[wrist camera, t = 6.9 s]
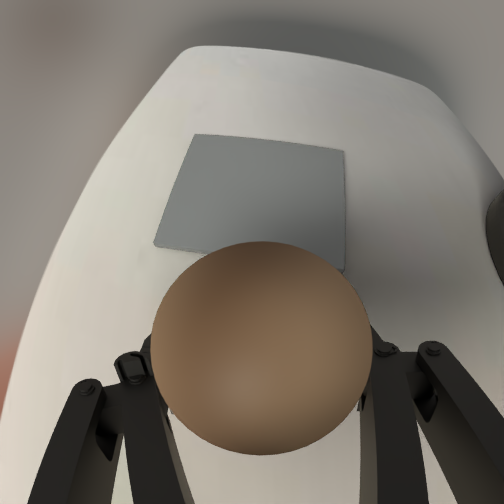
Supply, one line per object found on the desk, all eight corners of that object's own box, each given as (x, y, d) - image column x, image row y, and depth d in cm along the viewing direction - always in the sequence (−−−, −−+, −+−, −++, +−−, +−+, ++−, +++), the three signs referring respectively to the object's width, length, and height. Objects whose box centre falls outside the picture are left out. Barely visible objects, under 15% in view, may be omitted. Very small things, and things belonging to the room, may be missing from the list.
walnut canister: (309, 337, 20) (374, 255, 9) (297, 426, 17) (359, 461, 6) (219, 324, 20) (179, 229, 9) (202, 412, 17) (131, 427, 7)
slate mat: (341, 155, 27) (342, 150, 27) (342, 272, 22) (344, 269, 21) (195, 138, 28) (194, 134, 28) (155, 246, 23) (153, 242, 22)
